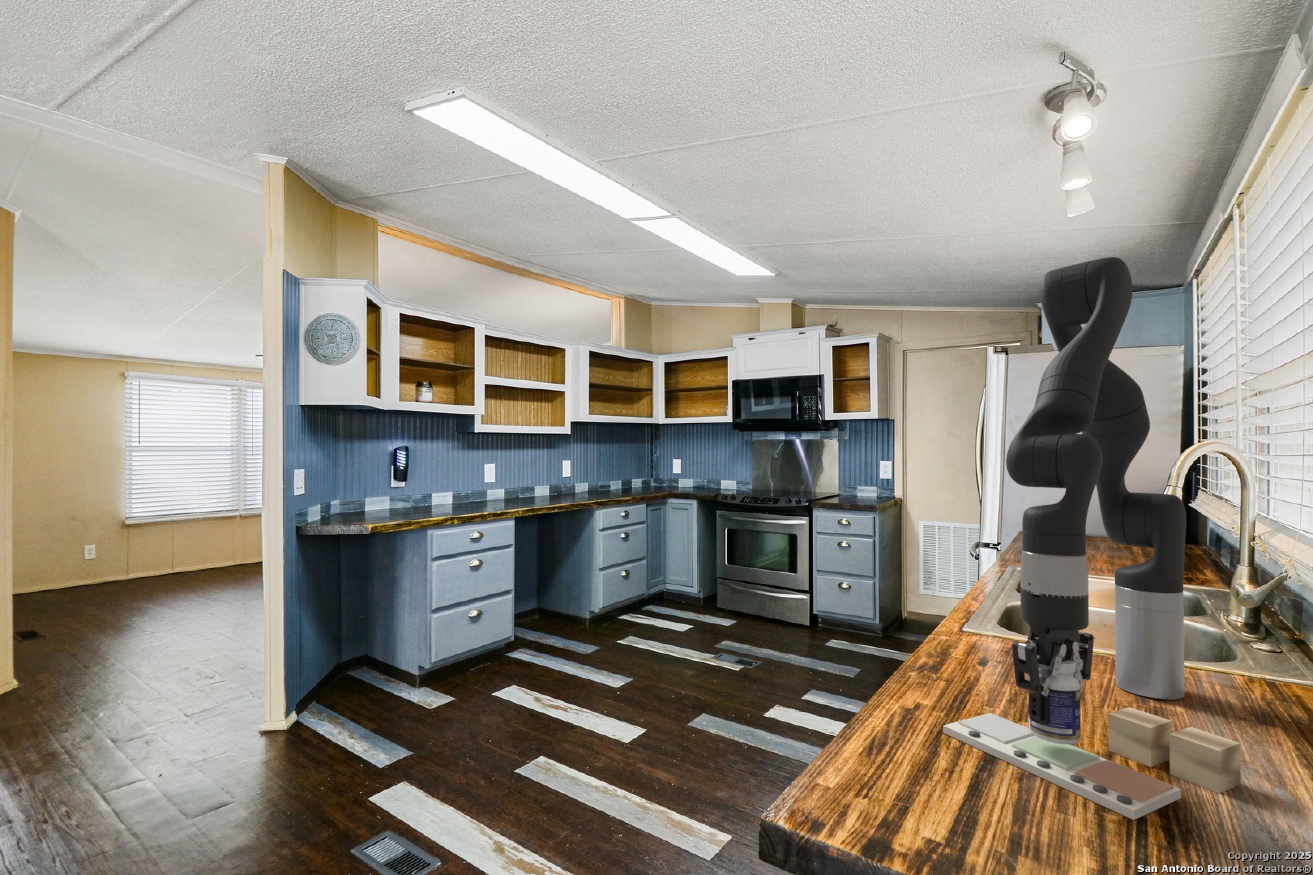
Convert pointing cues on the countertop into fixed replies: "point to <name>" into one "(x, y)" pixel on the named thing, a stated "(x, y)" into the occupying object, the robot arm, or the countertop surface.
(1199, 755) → the maple block
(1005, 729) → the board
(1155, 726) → the maple block
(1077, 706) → the pill bottle
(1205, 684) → the countertop surface
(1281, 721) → the countertop surface
